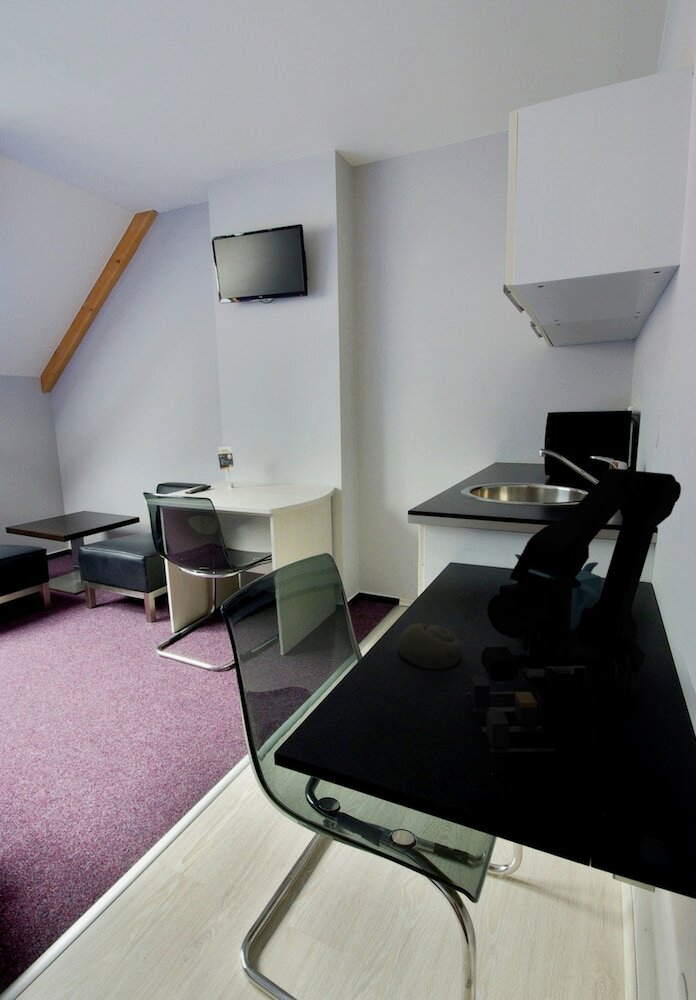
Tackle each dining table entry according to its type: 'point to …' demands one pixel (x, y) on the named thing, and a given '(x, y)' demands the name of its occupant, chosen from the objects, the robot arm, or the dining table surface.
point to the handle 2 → (497, 729)
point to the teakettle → (581, 591)
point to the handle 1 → (479, 691)
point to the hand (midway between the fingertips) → (544, 713)
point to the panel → (511, 727)
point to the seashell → (429, 646)
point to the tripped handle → (525, 708)
